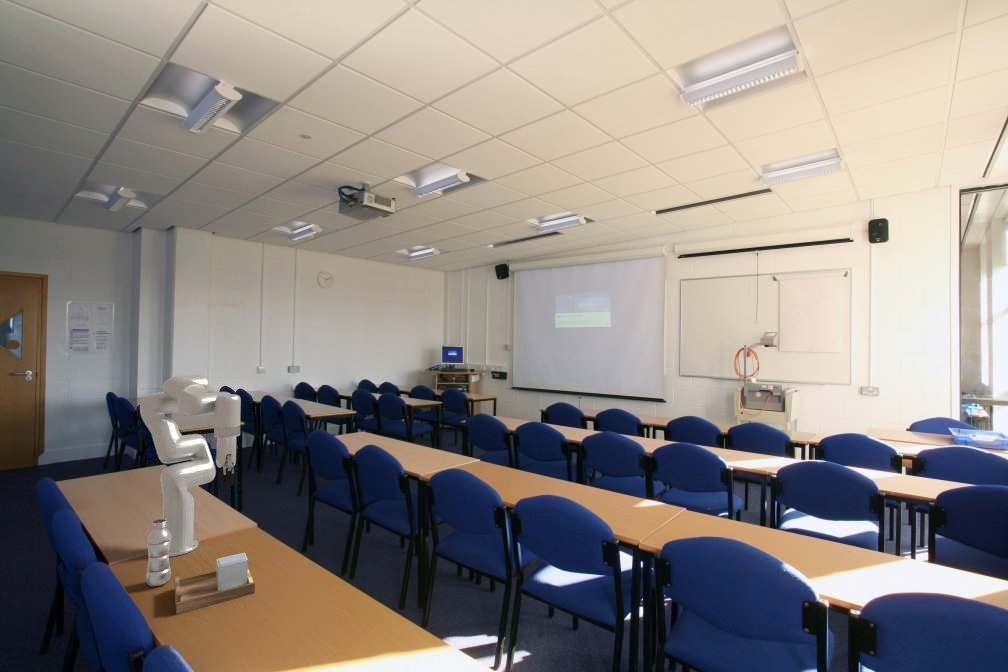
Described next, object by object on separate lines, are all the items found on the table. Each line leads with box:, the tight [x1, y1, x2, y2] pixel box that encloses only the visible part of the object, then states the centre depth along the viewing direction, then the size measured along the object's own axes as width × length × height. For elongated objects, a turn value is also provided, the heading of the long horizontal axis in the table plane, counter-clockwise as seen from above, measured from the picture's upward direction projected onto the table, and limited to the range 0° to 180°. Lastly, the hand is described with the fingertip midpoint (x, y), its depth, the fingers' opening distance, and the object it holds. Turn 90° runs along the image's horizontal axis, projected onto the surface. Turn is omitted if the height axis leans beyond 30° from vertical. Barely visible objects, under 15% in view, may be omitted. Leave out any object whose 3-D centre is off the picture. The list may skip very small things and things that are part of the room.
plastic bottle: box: [145, 518, 172, 587], centre depth 151 cm, size 6×7×20 cm
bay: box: [173, 568, 256, 616], centre depth 147 cm, size 16×20×5 cm
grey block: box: [215, 552, 249, 591], centre depth 150 cm, size 6×8×8 cm
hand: (226, 482), depth 159 cm, fingers open, 9 cm apart
